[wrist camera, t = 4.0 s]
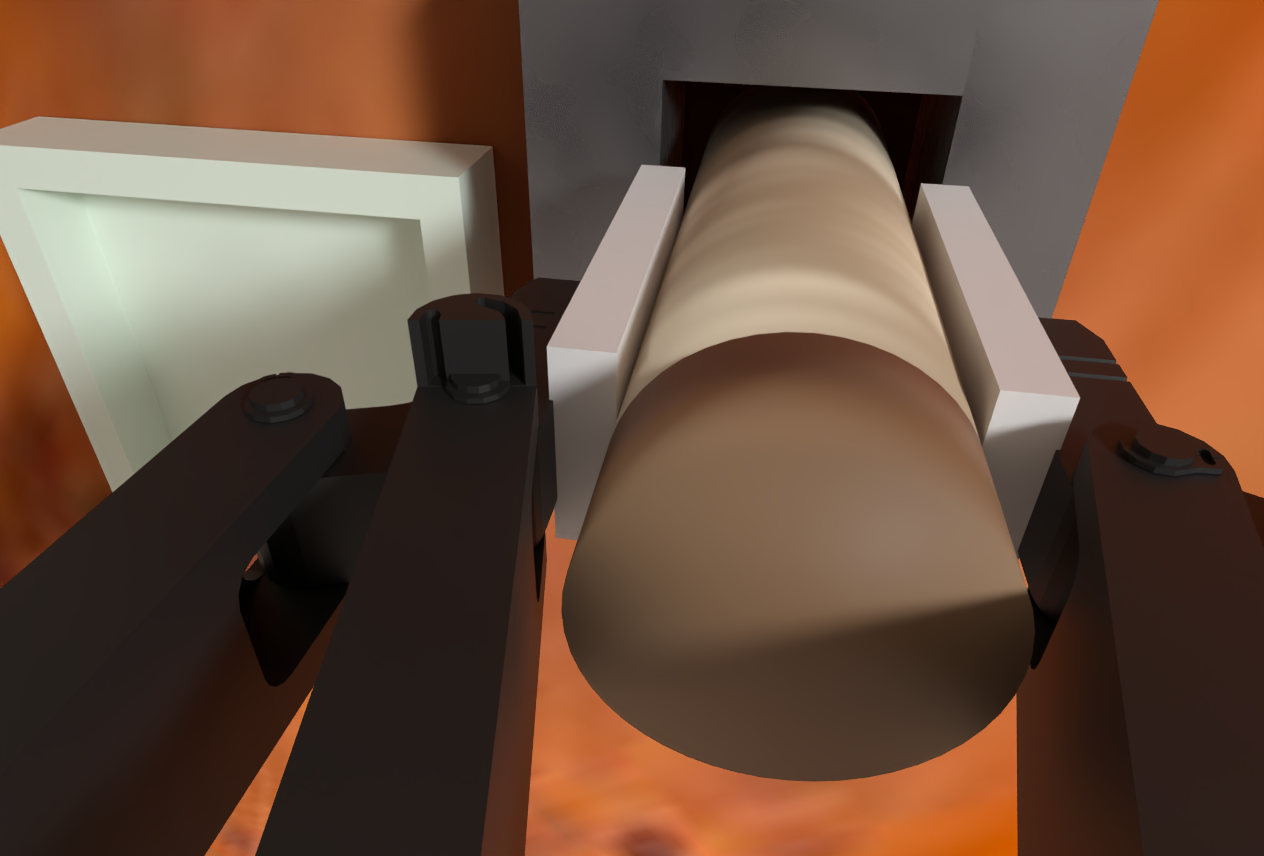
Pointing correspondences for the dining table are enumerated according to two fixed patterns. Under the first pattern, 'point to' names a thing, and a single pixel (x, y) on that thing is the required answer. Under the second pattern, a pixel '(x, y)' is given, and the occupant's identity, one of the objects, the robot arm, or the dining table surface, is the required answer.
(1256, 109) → the dining table surface
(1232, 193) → the dining table surface
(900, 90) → the socket block
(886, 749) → the pin
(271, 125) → the dining table surface
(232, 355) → the tray
